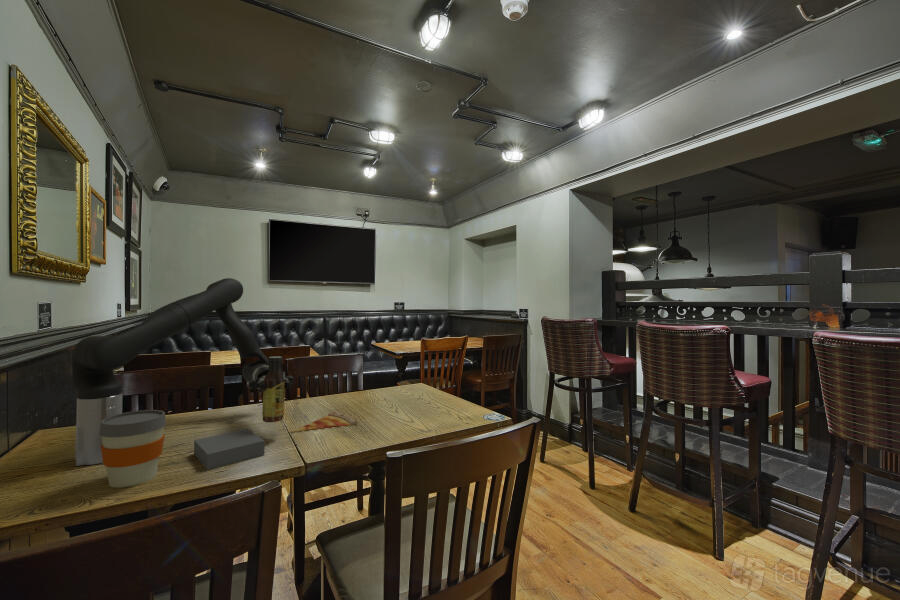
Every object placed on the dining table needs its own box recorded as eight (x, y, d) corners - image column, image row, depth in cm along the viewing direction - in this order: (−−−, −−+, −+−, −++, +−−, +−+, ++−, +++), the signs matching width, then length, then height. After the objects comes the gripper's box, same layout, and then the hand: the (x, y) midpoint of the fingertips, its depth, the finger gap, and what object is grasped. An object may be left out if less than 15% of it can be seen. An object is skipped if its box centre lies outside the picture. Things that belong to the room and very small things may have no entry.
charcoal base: (207, 470, 99) (207, 454, 99) (193, 454, 108) (194, 440, 109) (264, 454, 109) (264, 440, 109) (247, 441, 118) (247, 428, 118)
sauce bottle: (278, 423, 118) (279, 358, 118) (258, 423, 118) (259, 358, 118) (287, 417, 124) (289, 355, 124) (268, 416, 124) (270, 355, 124)
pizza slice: (288, 420, 141) (288, 415, 141) (349, 414, 150) (349, 409, 150) (289, 434, 126) (289, 428, 126) (357, 426, 136) (357, 420, 136)
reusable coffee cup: (171, 478, 94) (172, 416, 94) (102, 497, 85) (103, 429, 85) (158, 463, 102) (159, 406, 102) (95, 478, 93) (96, 417, 93)
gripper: (242, 368, 129) (250, 376, 115) (288, 365, 137) (300, 372, 123) (242, 390, 129) (250, 401, 115) (287, 386, 137) (300, 395, 123)
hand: (276, 386), depth 119 cm, fingers closed on sauce bottle, 6 cm apart
